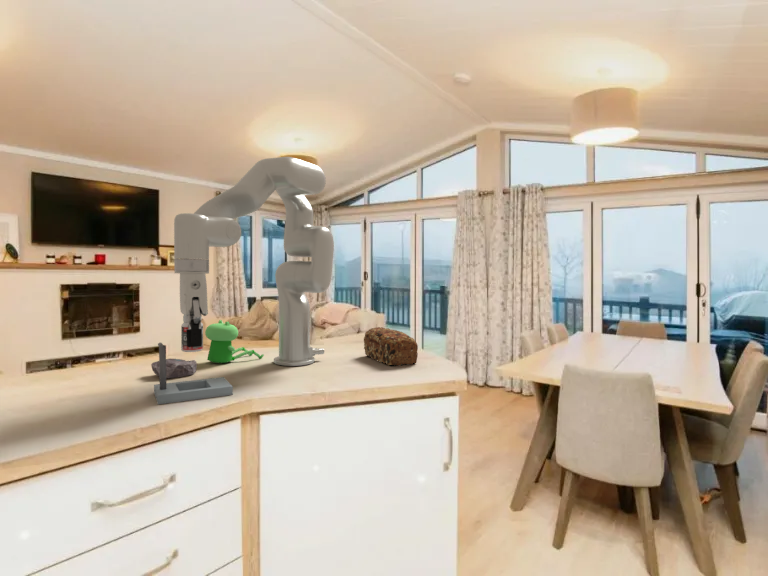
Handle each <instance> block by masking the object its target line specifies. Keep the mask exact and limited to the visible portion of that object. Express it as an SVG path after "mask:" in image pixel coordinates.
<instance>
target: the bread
mask: <svg viewBox="0 0 768 576" xmlns="http://www.w3.org/2000/svg"><path fill="white" fill-rule="evenodd" d="M363 343H364V344H363V346H364V348H363V349H364V354H365V356H366V357H367V356H368V357H369V358H370V357H371V359H372V358H373V359H372V360H374V359H376V360H378V361H380V362H379V363H381V362H383V363H382V364H385V363H386V365H387V366H389V365H394V366H395V365H400V366H402V365H405V364H410V365H414V364H413V363H416V364H417V361H418V348H419V345H418V343H417V342H416V340H415V339H414V337H411V336H410V335H408V334H407V333H405V332H402V331H400V330H396V329H390V328H385V327H380V326H378V327H373V328H372V327H371V328H370V329H368V330H367V331H366V332H365V333H364V337H363ZM376 360H375V361H376ZM378 361H377V362H378ZM401 364H402V365H401Z"/></svg>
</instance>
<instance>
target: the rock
mask: <svg viewBox="0 0 768 576" xmlns="http://www.w3.org/2000/svg"><path fill="white" fill-rule="evenodd" d="M197 364H198V363H197V361H196V360H195V359H194V360H193V359H192V360H186V359H182V358H181V359H180V358H166V379H177V378H182V377H183V376H184V377H188V376H192V375H194V374H195V373H196V372H197ZM150 365H151V369H152V371H153V373H154V374H155V376H157V377H159V360H158V361H154V362H152V363H151V364H150Z"/></svg>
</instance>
